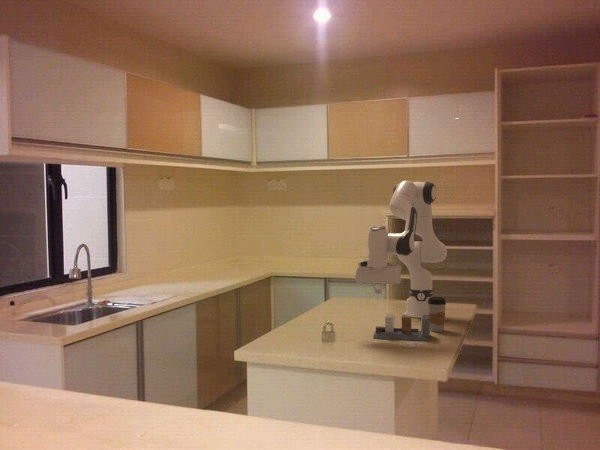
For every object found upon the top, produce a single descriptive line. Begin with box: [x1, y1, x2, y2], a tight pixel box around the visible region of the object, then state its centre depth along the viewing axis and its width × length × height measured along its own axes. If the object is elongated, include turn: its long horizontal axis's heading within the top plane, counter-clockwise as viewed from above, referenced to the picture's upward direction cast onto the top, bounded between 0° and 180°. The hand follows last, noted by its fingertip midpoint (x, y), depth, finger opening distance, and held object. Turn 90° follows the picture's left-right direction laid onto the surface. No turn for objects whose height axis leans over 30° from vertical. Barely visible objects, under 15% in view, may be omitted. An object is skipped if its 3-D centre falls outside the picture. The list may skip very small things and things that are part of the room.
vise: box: [373, 315, 431, 342], centre depth 258 cm, size 12×24×9 cm, turn 76°
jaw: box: [375, 313, 396, 333], centre depth 260 cm, size 9×8×7 cm
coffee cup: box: [428, 296, 447, 333], centre depth 269 cm, size 8×8×15 cm
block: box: [401, 315, 412, 334], centre depth 258 cm, size 4×4×8 cm
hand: (378, 293), depth 260 cm, fingers closed
